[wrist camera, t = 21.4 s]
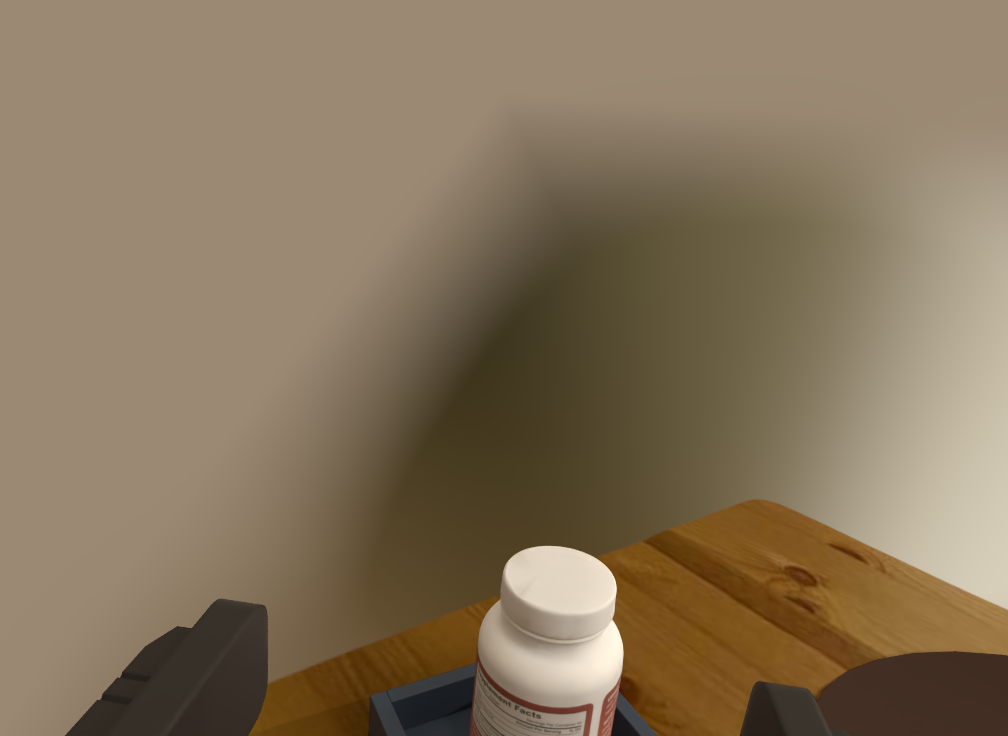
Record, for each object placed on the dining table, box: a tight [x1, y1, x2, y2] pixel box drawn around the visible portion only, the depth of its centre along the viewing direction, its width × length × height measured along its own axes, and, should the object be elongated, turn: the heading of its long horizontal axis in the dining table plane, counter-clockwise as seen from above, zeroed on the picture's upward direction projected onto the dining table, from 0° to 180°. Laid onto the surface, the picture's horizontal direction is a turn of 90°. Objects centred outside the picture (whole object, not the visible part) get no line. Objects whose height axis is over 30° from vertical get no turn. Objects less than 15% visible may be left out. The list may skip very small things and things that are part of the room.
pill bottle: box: [470, 546, 623, 736], centre depth 28 cm, size 6×6×11 cm
